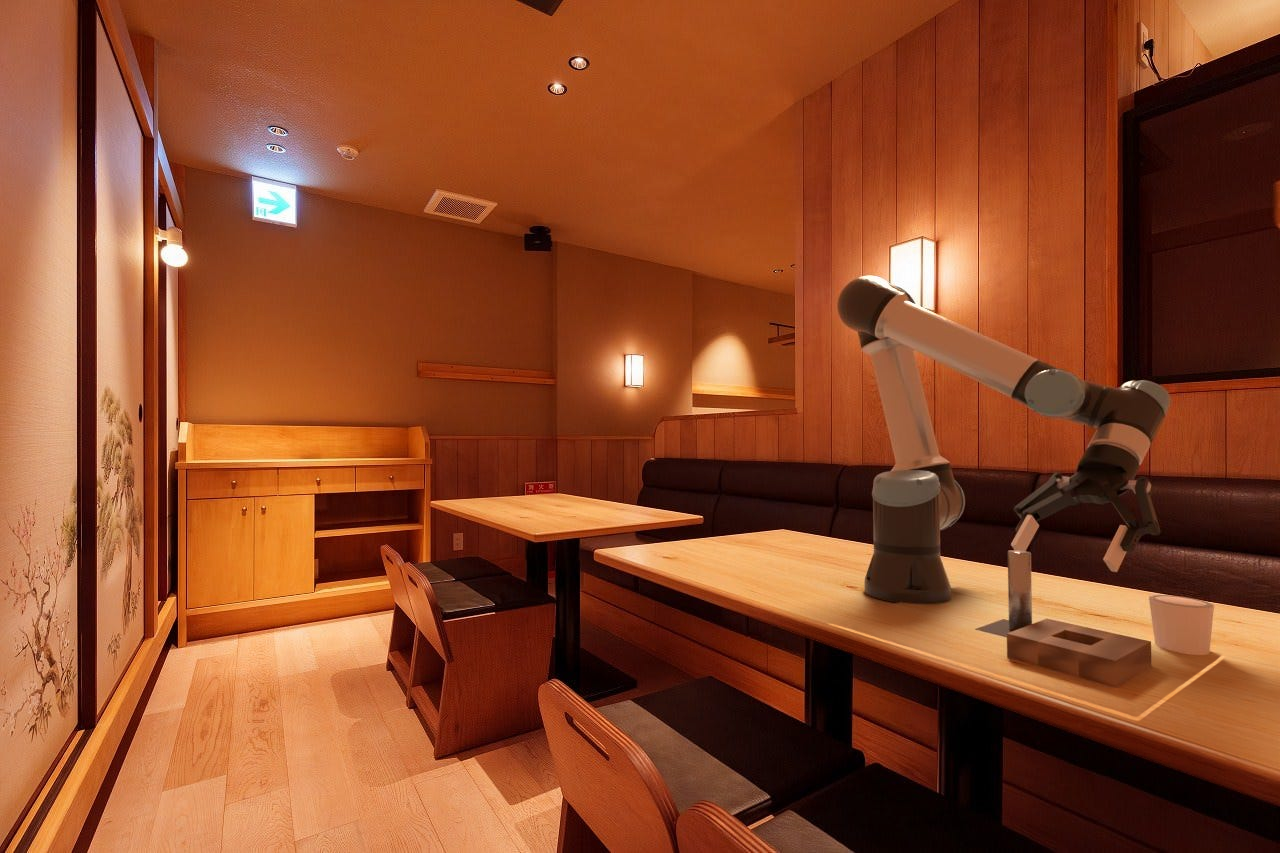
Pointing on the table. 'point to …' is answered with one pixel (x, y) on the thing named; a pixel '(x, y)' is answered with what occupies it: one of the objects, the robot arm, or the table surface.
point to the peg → (1019, 589)
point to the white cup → (1182, 623)
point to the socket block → (1080, 651)
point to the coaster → (997, 628)
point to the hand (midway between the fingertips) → (1060, 557)
